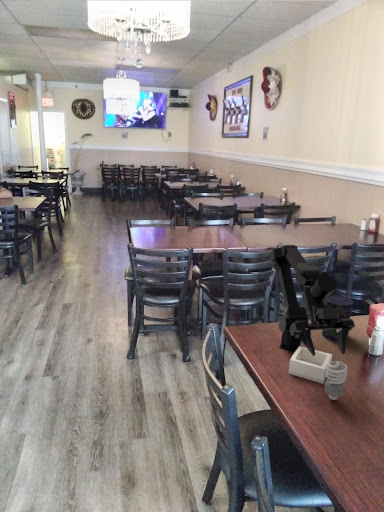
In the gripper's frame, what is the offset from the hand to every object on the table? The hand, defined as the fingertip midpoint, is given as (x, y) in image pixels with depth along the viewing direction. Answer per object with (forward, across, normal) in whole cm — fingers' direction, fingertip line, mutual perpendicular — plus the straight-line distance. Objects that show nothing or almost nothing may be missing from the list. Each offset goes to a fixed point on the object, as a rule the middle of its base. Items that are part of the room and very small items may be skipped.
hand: (329, 354), depth 118 cm
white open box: (+1, 0, +16) cm, 16 cm away
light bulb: (+12, 0, +5) cm, 13 cm away
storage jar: (-16, +21, +32) cm, 41 cm away
